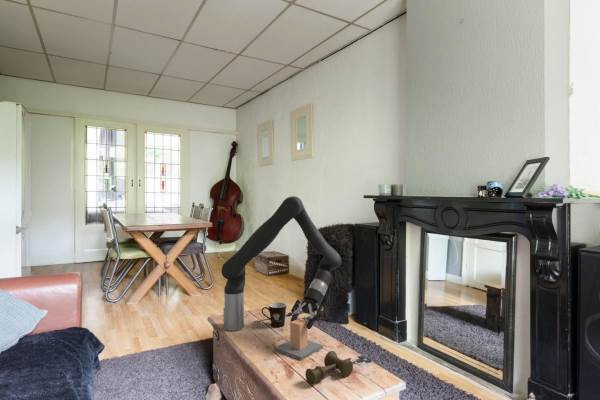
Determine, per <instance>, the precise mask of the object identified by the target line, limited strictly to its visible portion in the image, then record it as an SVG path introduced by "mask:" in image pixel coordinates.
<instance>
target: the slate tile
mask: <svg viewBox="0 0 600 400" xmlns="http://www.w3.org/2000/svg"><path fill="white" fill-rule="evenodd" d="M322 349H324V345H323V344H321V343H318V342H315V341H312V340H308V346H306V347H304V348H303V349H301V350H299V349H296V348H293V347H291V345H290V340H287V341H286V342H283V343H281V344H279V345H277V346H275V347H274V351H276V352H277V353H280V354H283V355H286V356H289V357H291V358H293V359H297V360H299V361H303V360H304V359H307V358H308V357H310V356H311V355H313V354H314V353H316V352H318V351H320V350H322Z"/></svg>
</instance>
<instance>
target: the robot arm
mask: <svg viewBox="0 0 600 400" xmlns="http://www.w3.org/2000/svg"><path fill="white" fill-rule="evenodd" d="M293 219H294V220H295V221H296V223H297V224H298V226H299V227H300V229H301V230H302V232H303V235H304V237H305V238H306V241H307V242H308V244H309V245H310V246H311V248H312V250H313V251H314V252H315V253H316V254H317V255H321V256H323V257H322V259H321V260H320V261H319V265H318V268H317V272H316V274H315V276H314V278H313V280H312V281H311V283H310V285H309V286H308V288H307V291H306V293H305V294H304V298H303V301H301V300H299V299H297V300H296V301H295V303H294V304H293V306H292V308H291V310H290V311H291V313H292V317H291V318H290V322H292V321H294V320H297V319H299V318H298V317H299V316H300V315H303V314H307V315H310V318H309V319H308V321H307V325H306V327H307V330H311V329H312V327H313V326H314V324H315V322H316V321H318V322H319V321H320V320H321V319H322V316H323V313H324V311H325V308H324V306H323V305H322V304H321V303H322V301H323V299H324V297H325V295H326V292H327V291H328V287H329V286H330V283H331V281H332V279H333V278H332V277H333V276H332V273H331V272H332V271H333V270H336V269H338V268H340V267H341V265H342V262H343V261H342V258H341V255H340V254H339V253H338V252H337V250H336V249H334V248H333V247H332V246H331V245H330V244H329V243H328V242H327V240H326V239H325V238H324V236H323V235H322V233H321V232H320V231H319V229H318V228H317V226H316V225H315V224H314V222H313V221H312V219H311V217H310V216H309V214H308V212H307V210H306V208H305V206H304V204H303V201H302V199H301V198H299V197H297V196H295V195H294V196H293V195H292V196H288V197H287V198H285V199H284V200H283V201H282V202H281V203H280V205H279V207H277V209H276V211H275V212H273V214H272V215H271V217H269V218H268V219H266V221H264V222H263V223H262V224H261V225H260V226H259V227H258V228H257V229H256V230H255V231H254V232H253V233H252V234H251V235H250V236H249V237H248V239H247V240H246V241H245V242H244V243H243V245H241V247H240V248H239V250H238V251H237V252H235V253H234V254H233V255H232V256H230V258H228V259H227V260H226V261H225V262H224V263H223V265H222V266H221V269H220V270H221V271H220V272H221V275H222V277H223V278H224V279H225V280H226V284H225V285H224V290H223V291H224V295H223V296H224V297H223V300H224V307H223V309H222V311H223V312H222V313H223V328H224V330H226V331H228V332H229V331H230V332H232V331H233V332H235V331H241V330H243V329H245V298H244V297H245V295H244V293H245V285H246V266H247V265H248V263H250V262H251V261H252V260H254V258H257V256H258V255H260V254H261V253H263V251H264V250H266V249H267V248H268V247H269V246H270V245H271V244H272V243H273V242H274V240H275V239H276V238H277V236H278V235H279V233H280V232H281V230H283V228H284V227H285V226H286V225H287V224H288V223H289V222H291V220H293Z"/></svg>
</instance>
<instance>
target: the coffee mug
mask: <svg viewBox="0 0 600 400" xmlns="http://www.w3.org/2000/svg"><path fill="white" fill-rule="evenodd" d="M264 309H267V310H268V312H269V316H267V315H266V314H265V313H264ZM286 313H287V303H285V302H271V303H270V304H268V307H267V306H265V307H263V308H261V314H262V315H263V316H264V317H265V318H267V319H268V320H269V321H270V325H271V327H272V328H275V329H280V327H281V328H283V327H285V323H286V322H285V321H286Z"/></svg>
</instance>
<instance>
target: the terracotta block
mask: <svg viewBox="0 0 600 400" xmlns="http://www.w3.org/2000/svg"><path fill="white" fill-rule="evenodd" d="M307 323H308V321H307V320H303V319H300V318H297V320H294V321H292V322H290V323H289V325H290V326H289V330H290V331H289V334H290V337H289V339H290V345H291V347H293V348H296V349H299V350H301V349H303V348H304V347H306V346H308V329H307V327H306V325H307Z"/></svg>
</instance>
